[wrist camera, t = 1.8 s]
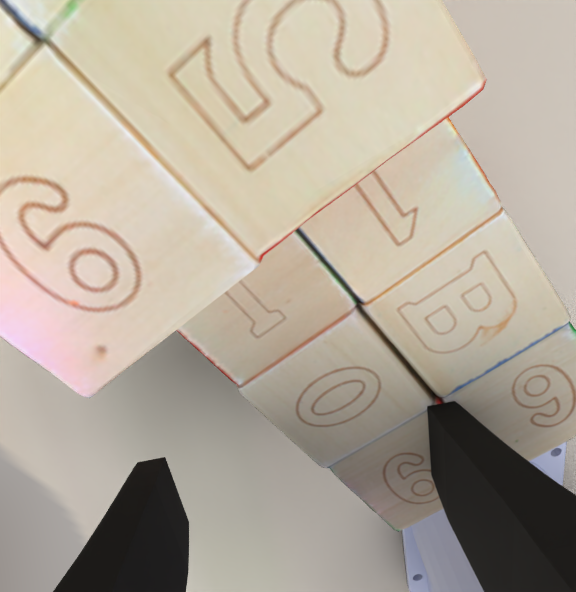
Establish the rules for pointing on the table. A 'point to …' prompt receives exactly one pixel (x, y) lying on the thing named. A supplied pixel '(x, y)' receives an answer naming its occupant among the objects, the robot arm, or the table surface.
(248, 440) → the table surface
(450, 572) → the robot arm
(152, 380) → the table surface
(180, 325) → the stack of blocks
